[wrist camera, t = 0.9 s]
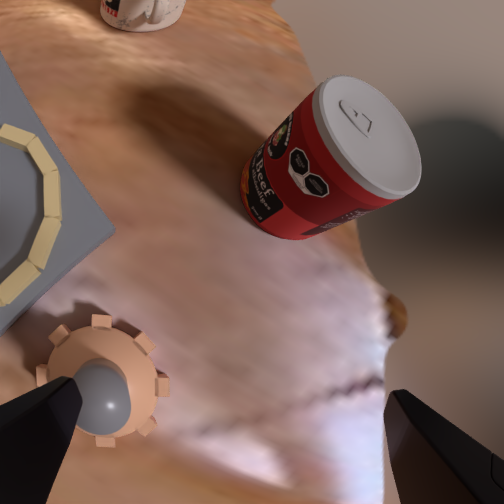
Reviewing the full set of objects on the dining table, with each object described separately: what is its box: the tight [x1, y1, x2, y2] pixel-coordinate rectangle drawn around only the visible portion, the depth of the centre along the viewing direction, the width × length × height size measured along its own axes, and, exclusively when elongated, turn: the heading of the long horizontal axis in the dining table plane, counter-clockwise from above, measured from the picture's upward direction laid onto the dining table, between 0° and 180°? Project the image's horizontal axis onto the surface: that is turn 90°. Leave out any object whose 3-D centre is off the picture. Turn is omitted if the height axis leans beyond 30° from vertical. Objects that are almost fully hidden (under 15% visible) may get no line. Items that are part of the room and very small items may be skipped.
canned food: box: [240, 75, 421, 240], centre depth 20 cm, size 8×8×11 cm
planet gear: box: [36, 314, 170, 447], centre depth 14 cm, size 8×8×6 cm
